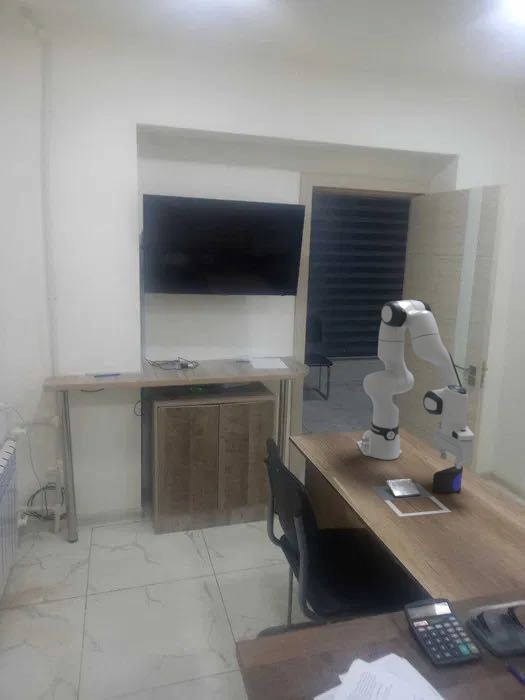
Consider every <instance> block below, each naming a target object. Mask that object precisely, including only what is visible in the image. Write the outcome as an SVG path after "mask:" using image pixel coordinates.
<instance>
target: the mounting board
mask: <svg viewBox="0 0 525 700" xmlns="http://www.w3.org/2000/svg"><path fill="white" fill-rule="evenodd" d="M413 484H414V485H415V487H416V488H417V490H418V491H419V493H420V496H413V497H401V498H395V497H394V495H393V494H392V492H391V490H390V488H389V487H388V485H380V486H377V485H376V486H371V489H372V490H374V492H375V493H376V494H377V495H378V496H379V497H380V498H381V499H382V500H383V501H384V502H385V503H386V505H388V506H389V507H390V508H391V509H392V510H393V511H394V512H395V514H396V515H397V516H398V517H410V516H411V517H413V516H420V515H421V516H422V515H423V516H424V515H431V514H443V513H452V510H450V509H449V508H448V507H446V505H444V504H443V503H442V502H441V501H439V499H437V498H436V497H435V496H434V495H433V494H431V493H430V492H429V491H427V490H426V488H424V487H423V486H422V485H421V484H419V483H413ZM419 498H420V499H421V498H428V499H431V501H433V502H434V503H435V504H436V505H438V507H439V508H440V509H439V510H431V511H419V512H408V513H403V512H402V511H400V509H398V507H396V505H395V504H393V503H392V501H395V500H398V501H399V500H408V499H419ZM441 509H442V510H441Z"/></svg>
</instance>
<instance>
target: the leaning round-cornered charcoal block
mask: <svg viewBox="0 0 525 700" xmlns="http://www.w3.org/2000/svg"><path fill="white" fill-rule="evenodd" d="M463 470H464V466H462V465H461V468H460V469H457V468H456V467H455V465H454V466H450V467H447V468H445V469H442V470H438V471H436V472H435V473H434V474H433V478H432V489H431V492H432V494H436V495H446V494H452V493H456V494H457V493H458V492H459V491H460V490H461V486H462V480H463V472H464V471H463Z"/></svg>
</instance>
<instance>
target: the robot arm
mask: <svg viewBox="0 0 525 700" xmlns="http://www.w3.org/2000/svg"><path fill="white" fill-rule="evenodd" d="M380 310H381V311H380V318H381V322H380V326H379V332H378V340H377V341H378V346H377V357H378V359H379V360H380V361H382V362H383V363H384V368H385V370H382V371H375V372H371V373H370V374H367V375H365V377H364V379H363V384H362V385H363V386H362V387H363V390H364V392H365V393H366V394H367V395H368V396H369V397H370V399H371V402H372V405H373V406H372V407H373V417H372V421H371V422H370V427H369V428H370V429H369V430H367V431H365V432H364V433H363V434H362V436H361V440H359V441H357V446H358V448H359V450H360V451H361V453H362V455H363V456H365V457H372V458H374V459H379V460H384V461H386V460H395V459H398V458H399V457H400V455H401V454H403V450H402V449H401V437H400V435H399V430H400V428H399V427H400V426H399V418H400V417H399V416H400V409H399V407H398V406H397V404H395V403H394V401H393V395H398V394H399V395H400V394H405V393H406V392H408V391H410V390H411V389H413V387H414V385H415V378H414V375H413V374H412V372H410V371H409V369H408V368H407V364H406V362H405V338H406V337H405V336H406V335H405V334H406V330H407V329H408V330H409V334H410V341H411V346H412V349H413V352H414V354H415V355H416V356H417V357H418V358H420V359H421V360H423V361H427V362H430V363H432V364H433V365H435V366H436V367H437V368H438V369H439V372H440V373H441V376H442V379H443V382H444V385H445V387H442V388H440V389H433V390H428V391H427V392H426V393H424V395H423V397H422V398H423V399H422V400H423V401H422V404H423V408H424V410H425V411H426V412H427V413H428V414H430V415H435V416H437V415H439V416H441V421H439V422H437V424H436V427H435V429H434V434H433V443H434V444H435V445H437V446H438V449H439V453H440V459H442V460H447V458H448V457H447V456H448V455H447V454H446V452H447V453H449V454H450V455H452V456H453V457H455V458H456V460H457V461H456V462H454V466H455V467H456V468H457V469H460V468H461V466H462V464H463V463H464V462H467V461H468V462H469V461H471V460H473V454H474V442H473V441H474V440H475V434H474V433H473V431H472V430H471V428H469V426H468V425H467V424H468V423H467V414H468V412H469V402H470V401H469V393H468V390H467V389H466V388H464V387H463V385H462V382H461V380H460V377H459V374H458V371H457V368H456V365H455V363H454V360H453V357H452V355H451V353H450V351H449V350H447V349H446V347H445V346H444V344H443V342H442V339H441V335H440V331H439V328H438V324H437V321H436V319H435V317H434V315H433V313H432V308H431V306H430V305H429V304H428V302H425V300H419V299H418V300H415V299H404V300H391V301H388V302H385V303H384V304H383V306H382V308H381V309H380Z"/></svg>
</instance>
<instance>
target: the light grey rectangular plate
mask: <svg viewBox="0 0 525 700" xmlns="http://www.w3.org/2000/svg"><path fill="white" fill-rule="evenodd" d="M385 483H386V486H388V487H389V488H390V490H391V492H392V494H393V495H394V497H395V498H401V497H413V496H420V493H419V491H418V490H417V488H416V487H415V485H414V484H415V483H414V482H413V480H412V479H411V478H401V479H400V478H399V479H387V480H386V481H385Z"/></svg>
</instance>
